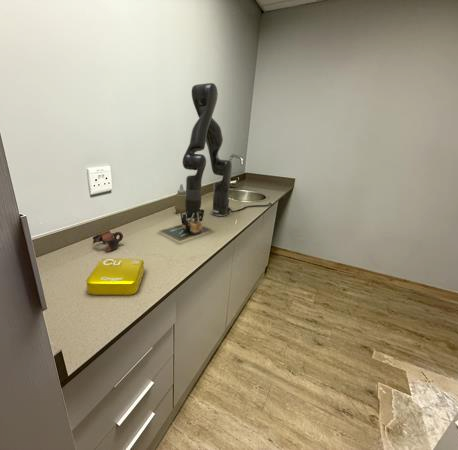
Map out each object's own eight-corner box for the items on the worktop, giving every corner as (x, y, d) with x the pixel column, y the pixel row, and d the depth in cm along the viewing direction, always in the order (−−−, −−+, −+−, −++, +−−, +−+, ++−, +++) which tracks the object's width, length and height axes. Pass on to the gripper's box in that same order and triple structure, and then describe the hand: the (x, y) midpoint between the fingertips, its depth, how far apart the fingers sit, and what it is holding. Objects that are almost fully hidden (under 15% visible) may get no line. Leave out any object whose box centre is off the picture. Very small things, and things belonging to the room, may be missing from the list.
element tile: (85, 295, 72) (83, 281, 71) (102, 268, 86) (101, 257, 85) (136, 295, 73) (135, 282, 72) (145, 269, 87) (144, 257, 86)
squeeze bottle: (181, 210, 156) (182, 182, 149) (190, 213, 150) (191, 184, 144) (171, 212, 150) (171, 184, 144) (180, 216, 145) (180, 186, 138)
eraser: (189, 227, 124) (190, 218, 123) (202, 232, 119) (202, 223, 117) (182, 229, 121) (182, 220, 119) (194, 235, 115) (194, 225, 113)
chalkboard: (191, 223, 134) (191, 221, 134) (212, 232, 124) (212, 229, 123) (158, 233, 119) (158, 230, 119) (179, 243, 109) (179, 241, 108)
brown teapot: (99, 256, 96) (90, 237, 95) (98, 256, 104) (90, 238, 104) (128, 243, 101) (119, 225, 100) (125, 244, 110) (117, 227, 109)
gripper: (187, 201, 106) (186, 237, 112) (209, 197, 116) (207, 230, 122) (176, 198, 111) (176, 232, 117) (198, 194, 121) (197, 225, 127)
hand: (192, 231), depth 120 cm, fingers closed on eraser, 5 cm apart
